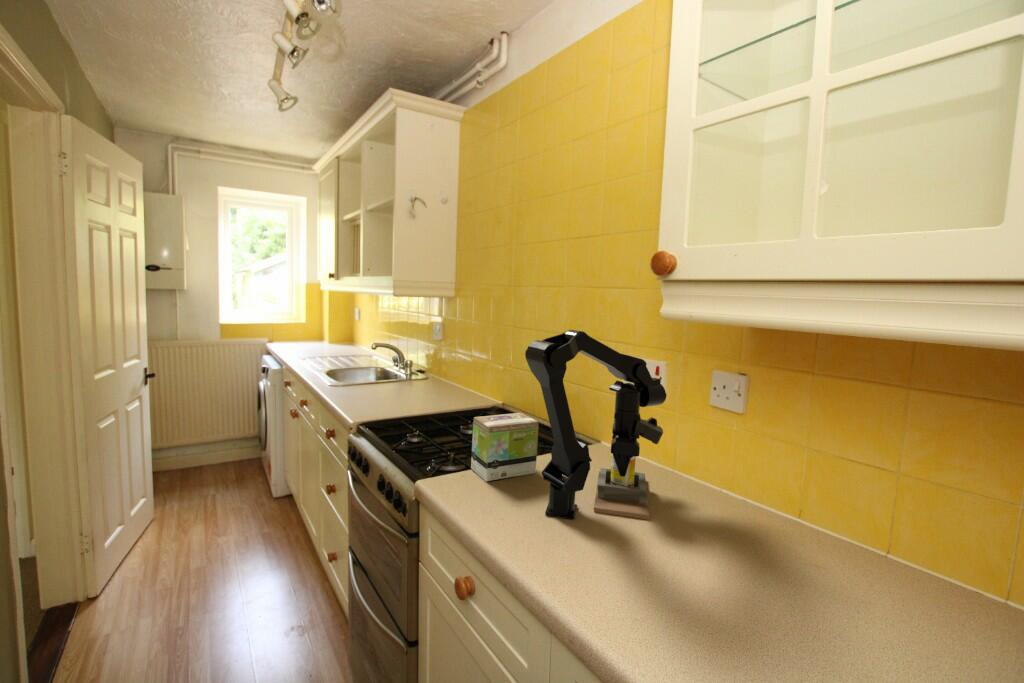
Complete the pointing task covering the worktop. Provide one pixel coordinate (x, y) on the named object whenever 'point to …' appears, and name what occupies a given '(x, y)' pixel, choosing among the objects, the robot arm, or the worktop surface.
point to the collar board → (621, 496)
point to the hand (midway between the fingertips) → (622, 471)
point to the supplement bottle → (621, 480)
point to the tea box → (504, 446)
